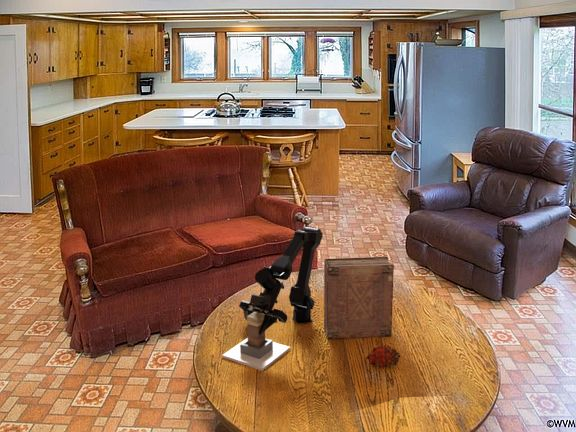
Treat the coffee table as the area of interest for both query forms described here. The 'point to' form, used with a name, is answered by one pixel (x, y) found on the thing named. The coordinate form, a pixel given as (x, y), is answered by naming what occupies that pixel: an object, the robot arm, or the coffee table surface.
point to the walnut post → (255, 329)
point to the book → (358, 297)
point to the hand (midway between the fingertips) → (254, 332)
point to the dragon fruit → (383, 356)
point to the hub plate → (256, 354)
